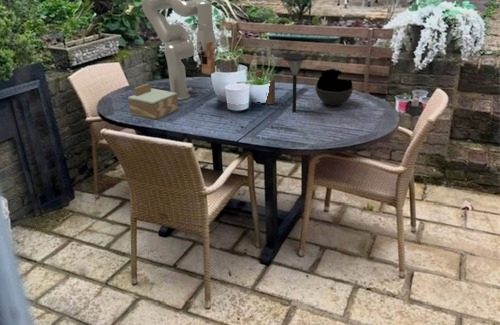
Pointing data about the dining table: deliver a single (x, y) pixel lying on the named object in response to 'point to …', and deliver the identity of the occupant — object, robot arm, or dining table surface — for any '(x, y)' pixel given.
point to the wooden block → (271, 88)
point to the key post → (209, 60)
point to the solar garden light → (294, 72)
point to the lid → (150, 94)
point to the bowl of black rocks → (333, 88)
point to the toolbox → (153, 108)
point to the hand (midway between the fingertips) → (207, 62)
